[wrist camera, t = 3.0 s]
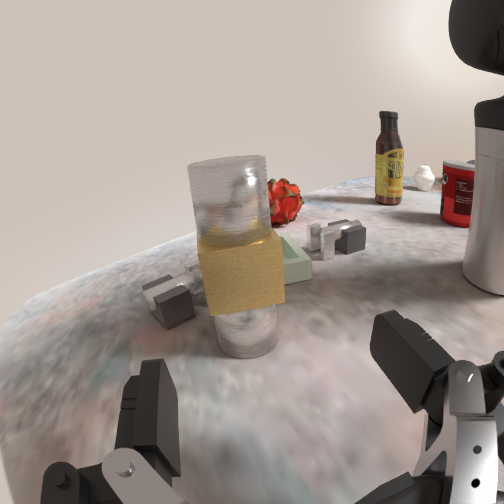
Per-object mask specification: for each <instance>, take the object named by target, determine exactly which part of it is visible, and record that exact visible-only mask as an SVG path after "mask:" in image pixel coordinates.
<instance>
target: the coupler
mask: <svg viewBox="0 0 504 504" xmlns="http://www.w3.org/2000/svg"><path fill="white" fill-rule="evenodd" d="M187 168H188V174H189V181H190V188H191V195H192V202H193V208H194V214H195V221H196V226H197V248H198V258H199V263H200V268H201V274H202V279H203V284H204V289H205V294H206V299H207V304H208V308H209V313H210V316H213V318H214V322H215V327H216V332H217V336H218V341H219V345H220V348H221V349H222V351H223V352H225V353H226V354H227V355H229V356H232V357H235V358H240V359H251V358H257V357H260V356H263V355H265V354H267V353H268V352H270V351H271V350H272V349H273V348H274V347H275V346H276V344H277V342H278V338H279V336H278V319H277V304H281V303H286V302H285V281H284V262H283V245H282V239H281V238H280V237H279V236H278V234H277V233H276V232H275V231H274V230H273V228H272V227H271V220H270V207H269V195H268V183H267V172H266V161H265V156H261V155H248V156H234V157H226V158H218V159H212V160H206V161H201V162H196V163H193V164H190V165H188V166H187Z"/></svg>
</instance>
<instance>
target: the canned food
mask: <svg viewBox="0 0 504 504" xmlns="http://www.w3.org/2000/svg"><path fill="white" fill-rule="evenodd" d="M474 177H475V165H474V164H470V163H465V162H459V161H450V160H445V161H443V177H442V196H441V209H440V215H441V219H442V220H443V221H444V222H446V223H448V224H451V225H454V226H458V227H464V228H469V227H470V219H471V211H472V202H473V191H474Z"/></svg>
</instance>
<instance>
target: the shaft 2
mask: <svg viewBox="0 0 504 504" xmlns="http://www.w3.org/2000/svg"><path fill="white" fill-rule="evenodd" d="M307 238H308V250H309V251H315V250H318V249H321V259H323V260H327V259H330V258H334V254H335V248H337V249H338V250H340V251H342V252H344V253H345V254H350V253H353V252H357V251H360V250H363V249H365V240H366V228H365V227H363V226H362V225H361V223H360V221H358V220H354V221H349V220H346V219H345V220H341V221H336V222H332V223H328V227H323V228H321V225H319V224H312V225H308V226H307Z"/></svg>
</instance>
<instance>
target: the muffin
mask: <svg viewBox="0 0 504 504" xmlns="http://www.w3.org/2000/svg"><path fill="white" fill-rule="evenodd" d="M414 178H415V182H416V184H417V187H418V189H419V190H422V191H429V190H430V188H431V187H432V185H433V183H434V180H435V177H434V176H433V174H432V172H431V169H430V167H428V166H425V165H424V166H420V167H419V170H418V171H417V173H416V174H415V175H414Z"/></svg>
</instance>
